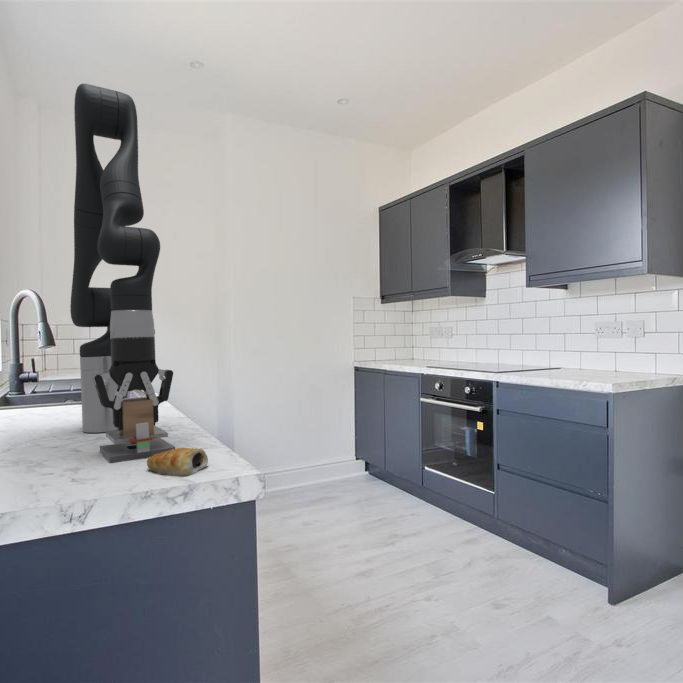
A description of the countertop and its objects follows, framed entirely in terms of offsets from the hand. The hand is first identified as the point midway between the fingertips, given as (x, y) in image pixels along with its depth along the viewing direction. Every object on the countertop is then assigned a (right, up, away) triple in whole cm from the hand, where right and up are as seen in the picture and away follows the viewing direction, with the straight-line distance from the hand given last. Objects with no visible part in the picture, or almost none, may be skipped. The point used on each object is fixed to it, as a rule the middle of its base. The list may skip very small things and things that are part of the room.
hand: (136, 427), depth 91 cm
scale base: (0, -5, 0) cm, 5 cm away
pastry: (+12, -5, -13) cm, 19 cm away
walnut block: (0, -1, 0) cm, 1 cm away
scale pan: (+1, -3, -1) cm, 3 cm away
